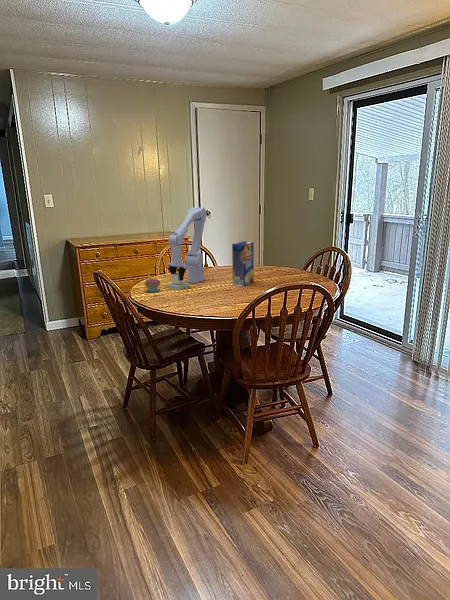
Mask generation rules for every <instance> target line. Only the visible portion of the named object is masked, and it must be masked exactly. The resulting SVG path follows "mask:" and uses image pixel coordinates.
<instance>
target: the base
mask: <svg viewBox="0 0 450 600" xmlns="http://www.w3.org/2000/svg"><path fill="white" fill-rule="evenodd" d="M189 287H190V282H184V283H180V284H174V283H172V282H170V283H167V284H166V288H167V289H172V290H175V291H181V290H183V289H187V288H189Z"/></svg>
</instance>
